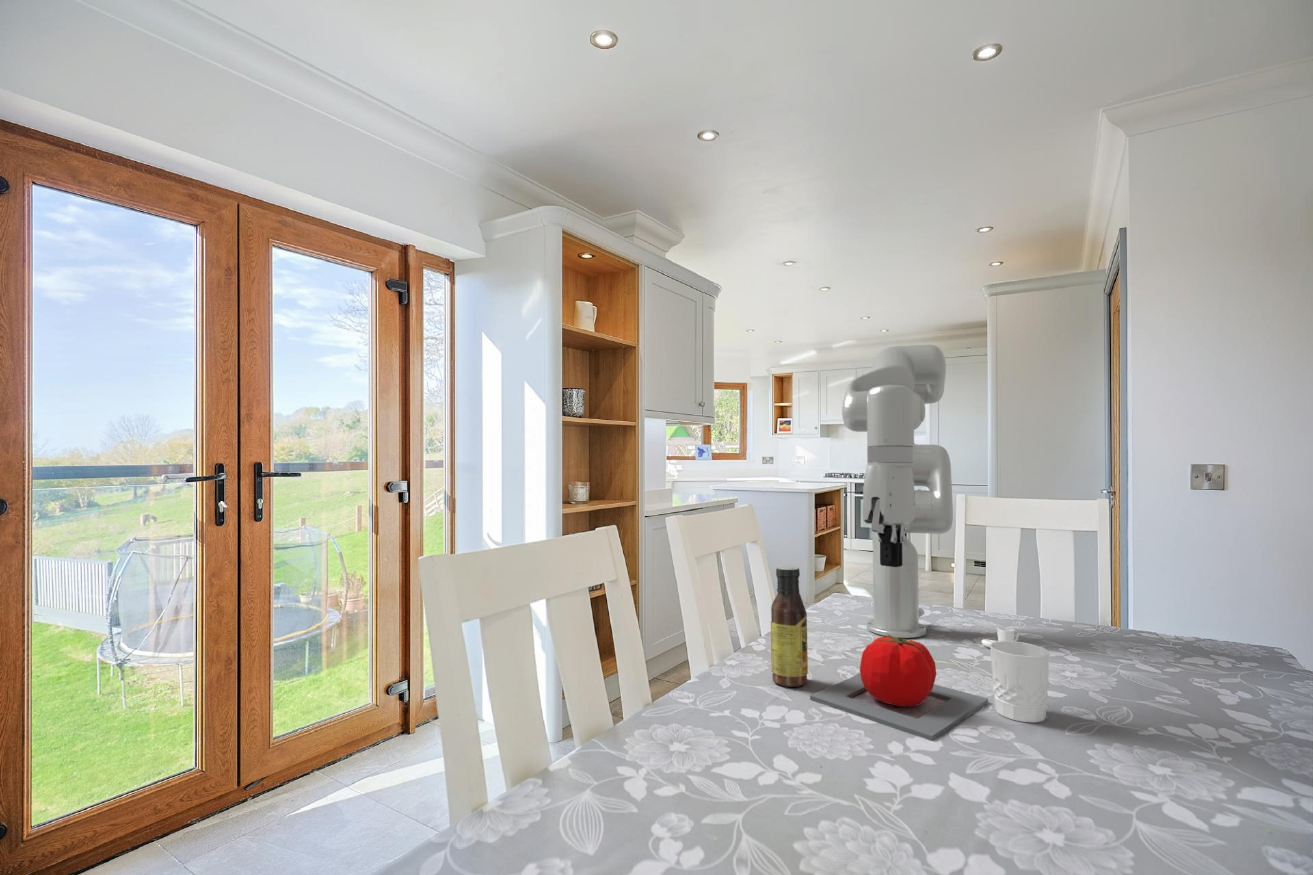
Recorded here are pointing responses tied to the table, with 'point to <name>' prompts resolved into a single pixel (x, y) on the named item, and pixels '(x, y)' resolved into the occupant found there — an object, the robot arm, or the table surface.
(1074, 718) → the table surface
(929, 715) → the gray picture frame
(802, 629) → the sauce bottle
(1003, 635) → the teacup and saucer
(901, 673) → the tomato
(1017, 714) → the white cup
